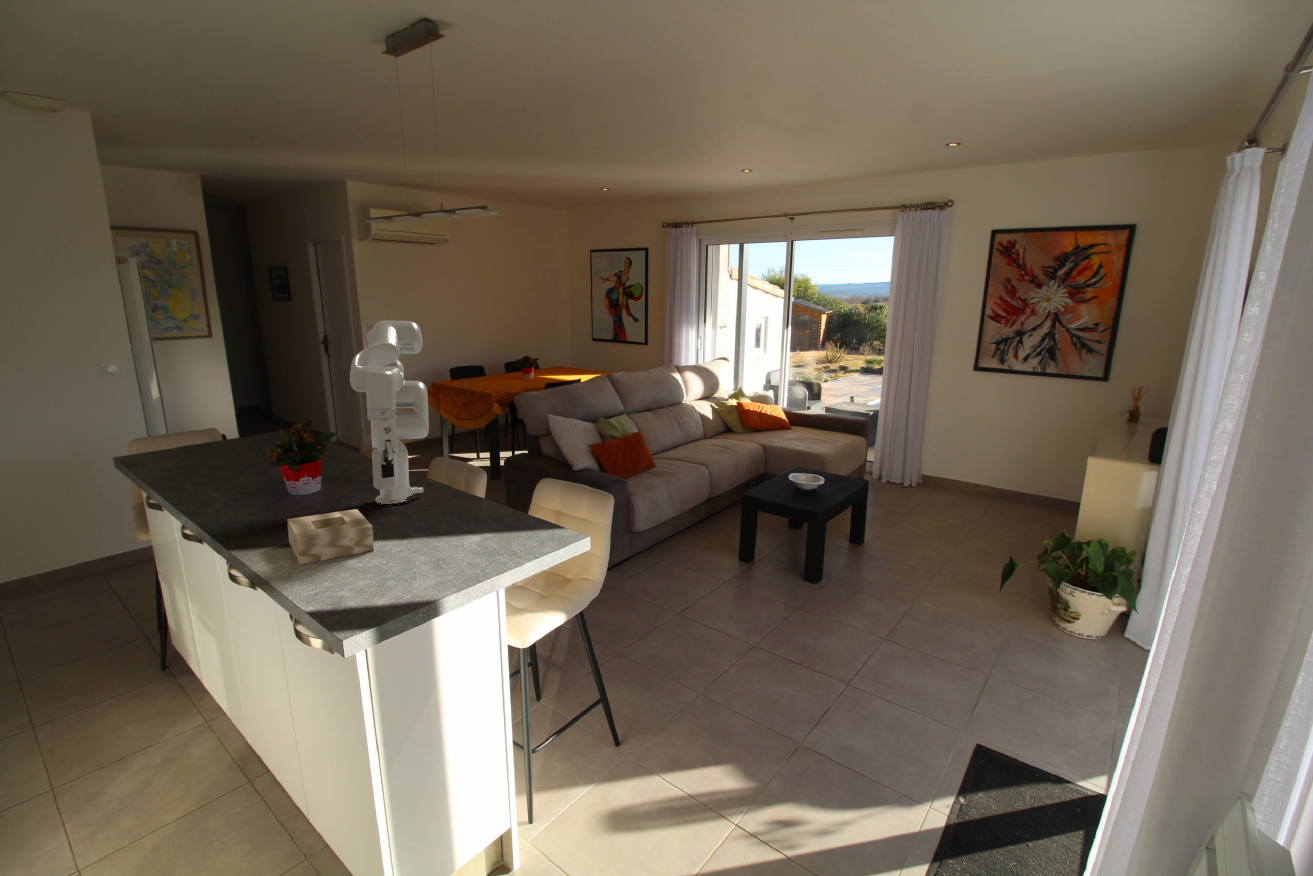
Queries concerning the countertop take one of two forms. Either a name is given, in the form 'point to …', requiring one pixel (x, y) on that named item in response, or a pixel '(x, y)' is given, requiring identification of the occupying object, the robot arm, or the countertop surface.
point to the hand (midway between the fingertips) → (384, 473)
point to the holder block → (329, 535)
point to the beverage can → (377, 472)
